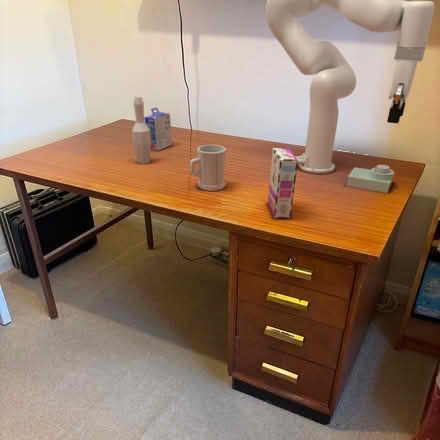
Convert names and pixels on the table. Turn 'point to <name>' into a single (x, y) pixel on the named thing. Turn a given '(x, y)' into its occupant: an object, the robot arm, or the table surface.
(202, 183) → the cup
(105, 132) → the table surface
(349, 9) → the robot arm
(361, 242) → the table surface
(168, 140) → the ink cartridge box
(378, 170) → the grey push button
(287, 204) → the candy bar box
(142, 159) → the faceted bottle
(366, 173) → the green push button box
